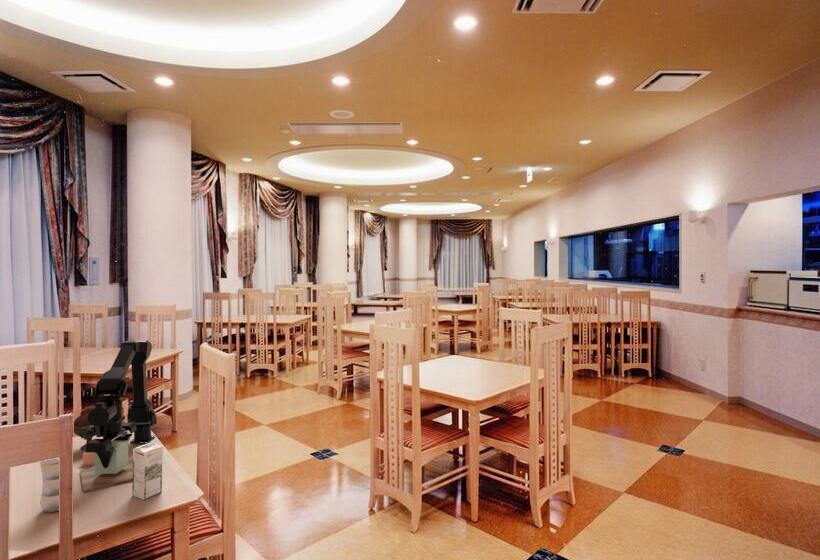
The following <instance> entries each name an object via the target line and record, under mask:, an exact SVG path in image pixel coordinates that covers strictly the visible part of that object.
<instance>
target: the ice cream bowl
mask: <svg viewBox="0 0 820 560" xmlns="http://www.w3.org/2000/svg"><path fill="white" fill-rule="evenodd" d="M94 408H95V405H89V406H85V407H84V408H83V409H82V410H81V411H80V413H79V416H77V417H76V418H75V419H74V421H73V423H74V431H73V433H74V434H75V435H76V436H78V437H80V436H79V435H80V429H81V428H83V427H86V426H91V425H92V424H90V423H89V421H88V414H89V412H90V411H91V410H92V409H94ZM93 437H94V436H93ZM93 437H90V438H88V439H86V440H85V441H86V442H85V444H83V445H82V446H80V447H79V449H80V451H83V452H85V445H86V444H87V443H88V442H90V441H92V440H93Z"/></svg>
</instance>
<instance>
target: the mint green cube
mask: <svg viewBox="0 0 820 560" xmlns="http://www.w3.org/2000/svg"><path fill="white" fill-rule="evenodd" d="M111 447H114V450H113V453H112V456H111V459H110V463H109V465H108V467H107V468H103V465H102V463H101V461H100V459H99V457H98V455H97V454H96V453H95V465H94V467H95V474H117V473H118V472H119V471H121V470H122V469H123V468H124V467H126V466H127V465H128V460H129V441H113V440H112V446H111Z"/></svg>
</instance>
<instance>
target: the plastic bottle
mask: <svg viewBox="0 0 820 560" xmlns="http://www.w3.org/2000/svg"><path fill="white" fill-rule="evenodd" d="M39 464H40V470H41V476H42V491H41V492H42V493H41V497H40V502H39V504H40V508H41V510H42V511H44V512H45V513H53V512H58V511H59V510H58V509H59V460H58V459H52V460H47V461H42V462H40V461H39Z"/></svg>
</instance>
